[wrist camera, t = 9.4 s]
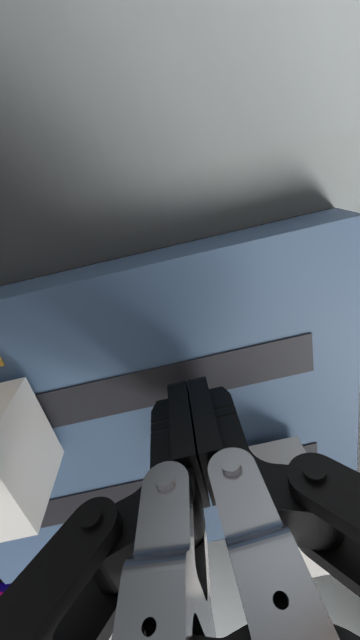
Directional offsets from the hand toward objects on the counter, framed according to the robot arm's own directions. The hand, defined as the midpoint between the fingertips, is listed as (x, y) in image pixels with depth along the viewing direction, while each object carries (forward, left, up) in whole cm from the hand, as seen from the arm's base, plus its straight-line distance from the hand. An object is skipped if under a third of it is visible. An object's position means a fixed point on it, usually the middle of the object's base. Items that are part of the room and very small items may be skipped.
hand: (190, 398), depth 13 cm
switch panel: (+3, +3, -3) cm, 5 cm away
